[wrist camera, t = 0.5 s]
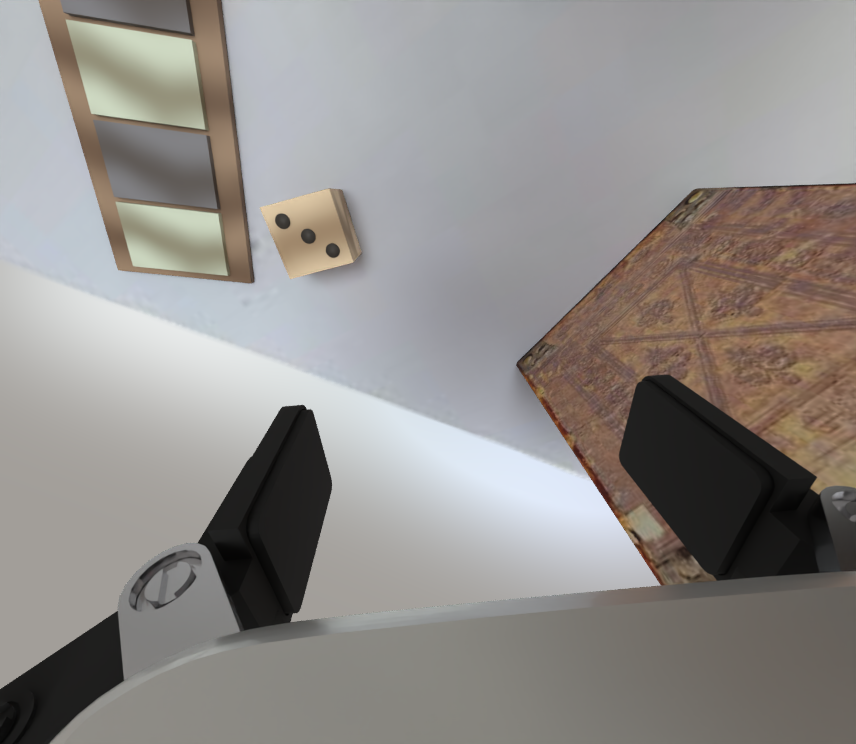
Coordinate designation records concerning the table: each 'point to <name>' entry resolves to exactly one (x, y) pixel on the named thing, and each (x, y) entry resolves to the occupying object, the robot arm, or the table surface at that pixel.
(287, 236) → the die
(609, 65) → the table surface
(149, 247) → the board
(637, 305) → the book
